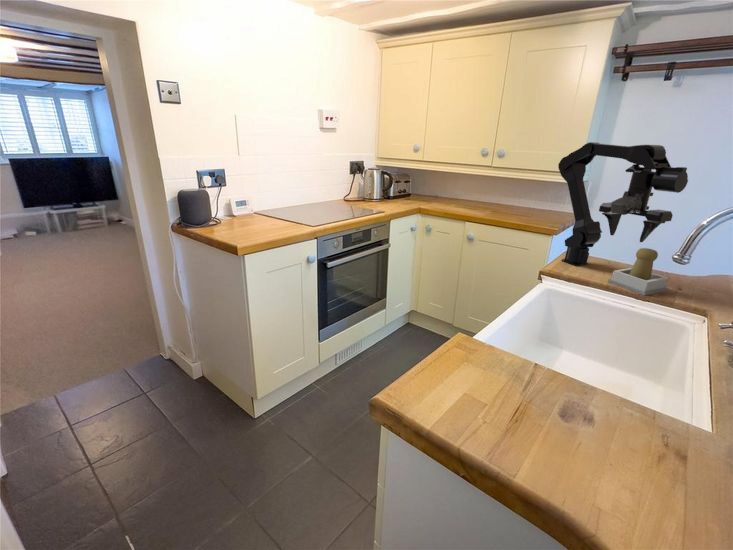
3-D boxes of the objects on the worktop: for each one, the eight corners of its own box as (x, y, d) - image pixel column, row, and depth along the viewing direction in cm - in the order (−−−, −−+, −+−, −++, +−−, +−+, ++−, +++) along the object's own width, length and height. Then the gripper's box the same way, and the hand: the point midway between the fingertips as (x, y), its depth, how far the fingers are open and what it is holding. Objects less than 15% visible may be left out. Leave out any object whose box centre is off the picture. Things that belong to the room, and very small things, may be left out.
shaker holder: (607, 282, 113) (611, 270, 112) (630, 277, 117) (633, 266, 116) (644, 295, 104) (648, 282, 102) (666, 290, 108) (671, 278, 106)
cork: (652, 288, 106) (664, 253, 102) (628, 284, 108) (639, 250, 105) (646, 281, 112) (657, 247, 108) (623, 278, 114) (633, 245, 110)
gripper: (593, 185, 113) (581, 233, 118) (656, 193, 97) (640, 248, 102) (616, 185, 117) (604, 231, 122) (681, 192, 101) (664, 245, 106)
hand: (626, 238), depth 113 cm, fingers open, 9 cm apart
